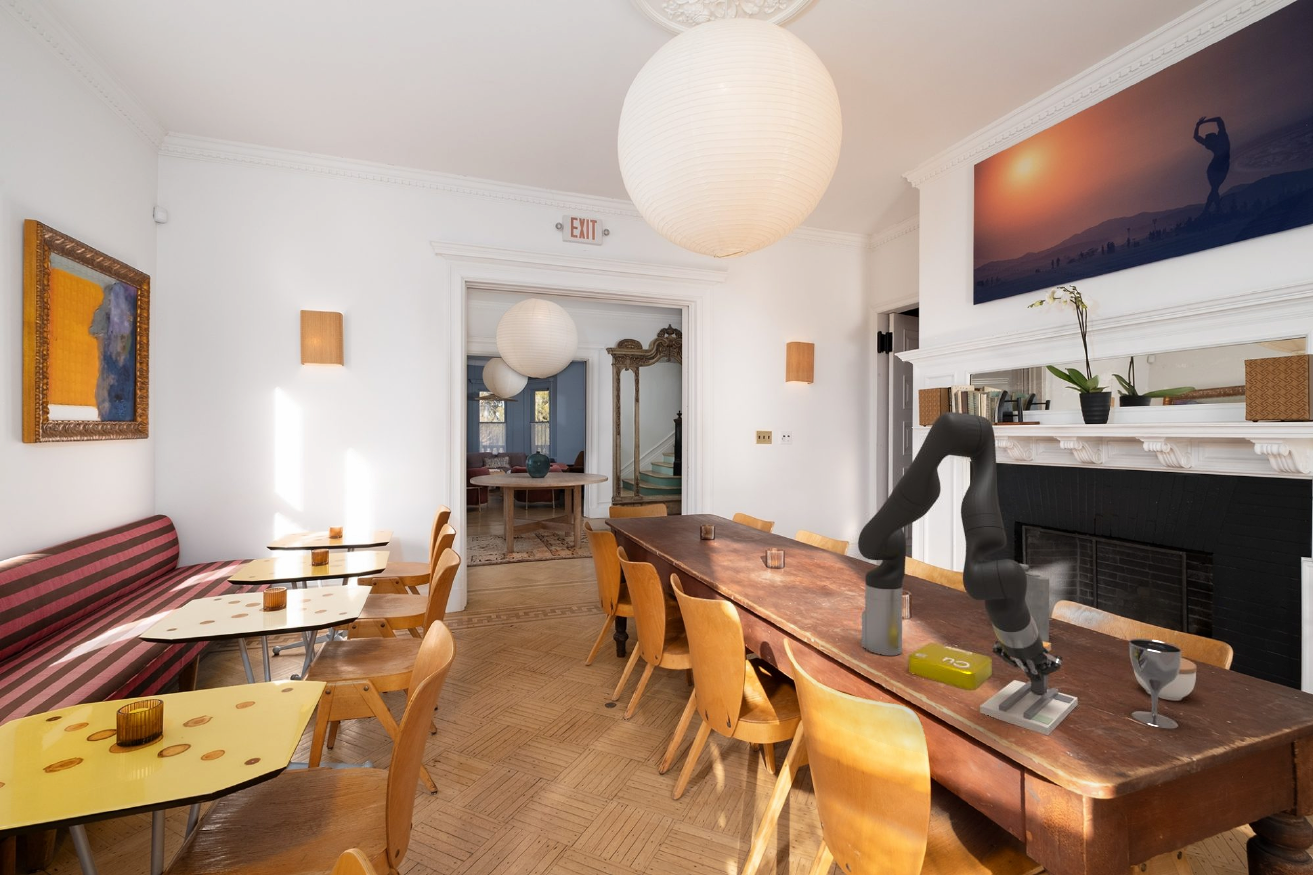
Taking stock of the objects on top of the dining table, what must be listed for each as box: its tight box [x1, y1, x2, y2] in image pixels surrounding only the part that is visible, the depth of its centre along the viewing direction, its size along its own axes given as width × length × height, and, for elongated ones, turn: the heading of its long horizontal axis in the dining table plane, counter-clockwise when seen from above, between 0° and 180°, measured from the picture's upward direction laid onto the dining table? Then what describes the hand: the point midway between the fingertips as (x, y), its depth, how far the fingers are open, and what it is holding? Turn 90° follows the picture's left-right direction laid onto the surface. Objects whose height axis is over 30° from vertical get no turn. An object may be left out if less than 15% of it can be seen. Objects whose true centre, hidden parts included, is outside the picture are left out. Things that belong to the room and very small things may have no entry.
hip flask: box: [1019, 563, 1050, 643], centre depth 171 cm, size 16×4×20 cm, turn 26°
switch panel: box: [979, 679, 1079, 736], centre depth 122 cm, size 12×20×2 cm, turn 131°
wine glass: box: [1129, 638, 1182, 730], centre depth 118 cm, size 8×8×15 cm
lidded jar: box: [1133, 657, 1198, 702], centre depth 130 cm, size 11×11×9 cm
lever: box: [1030, 641, 1052, 695], centre depth 126 cm, size 3×3×11 cm
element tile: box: [908, 642, 993, 691], centre depth 141 cm, size 15×15×5 cm
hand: (1036, 677), depth 125 cm, fingers closed
